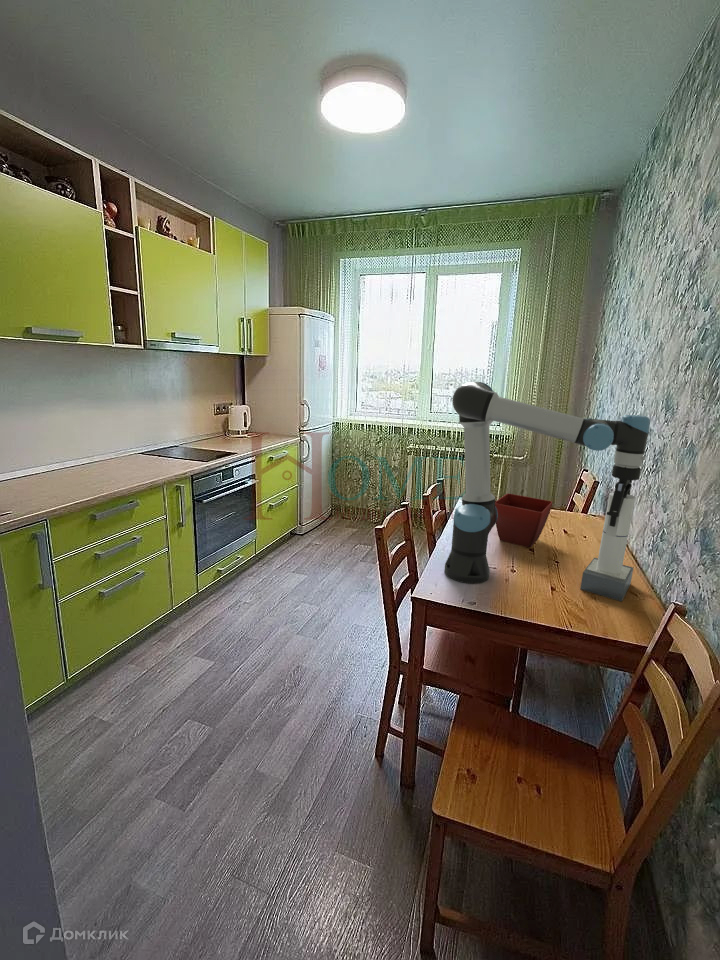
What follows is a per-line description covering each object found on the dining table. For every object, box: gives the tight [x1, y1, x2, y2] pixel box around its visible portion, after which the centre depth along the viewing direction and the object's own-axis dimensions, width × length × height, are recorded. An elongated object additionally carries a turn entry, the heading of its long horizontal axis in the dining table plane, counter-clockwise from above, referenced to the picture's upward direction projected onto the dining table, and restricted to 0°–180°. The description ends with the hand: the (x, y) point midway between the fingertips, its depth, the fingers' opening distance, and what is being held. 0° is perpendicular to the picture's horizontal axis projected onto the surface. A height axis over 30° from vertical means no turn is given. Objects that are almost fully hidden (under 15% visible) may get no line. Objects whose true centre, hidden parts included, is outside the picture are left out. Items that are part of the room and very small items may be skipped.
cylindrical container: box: [597, 492, 636, 574], centre depth 142 cm, size 7×7×25 cm
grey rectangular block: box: [579, 557, 634, 603], centre depth 146 cm, size 16×12×6 cm
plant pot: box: [495, 493, 553, 548], centre depth 184 cm, size 19×19×17 cm
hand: (614, 530), depth 142 cm, fingers open, 13 cm apart
